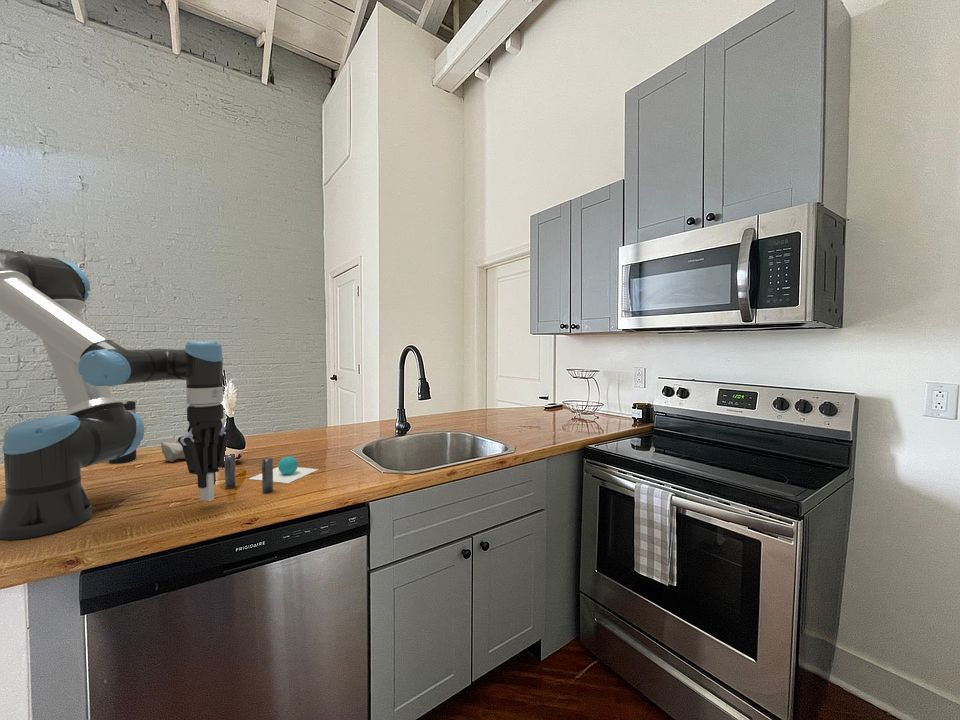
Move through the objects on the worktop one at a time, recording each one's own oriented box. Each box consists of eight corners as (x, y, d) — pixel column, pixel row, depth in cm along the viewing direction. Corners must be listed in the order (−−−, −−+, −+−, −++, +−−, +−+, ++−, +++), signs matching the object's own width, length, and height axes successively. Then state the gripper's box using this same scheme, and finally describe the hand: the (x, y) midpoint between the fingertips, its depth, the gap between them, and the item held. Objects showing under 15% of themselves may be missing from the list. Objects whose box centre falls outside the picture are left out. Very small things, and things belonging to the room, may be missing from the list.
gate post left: (230, 489, 117) (229, 457, 117) (222, 488, 118) (222, 456, 118) (238, 486, 120) (237, 454, 120) (230, 485, 121) (230, 454, 120)
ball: (303, 469, 133) (291, 478, 128) (288, 469, 135) (276, 477, 130) (299, 453, 132) (287, 461, 127) (284, 453, 133) (272, 461, 128)
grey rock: (157, 434, 146) (207, 430, 157) (156, 459, 146) (206, 454, 157) (164, 439, 139) (216, 435, 150) (163, 466, 139) (215, 460, 150)
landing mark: (287, 483, 122) (287, 483, 122) (248, 479, 126) (248, 478, 126) (318, 469, 136) (318, 469, 136) (281, 466, 139) (281, 465, 139)
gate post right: (268, 493, 114) (267, 460, 114) (260, 492, 115) (259, 459, 114) (275, 490, 117) (274, 458, 116) (267, 489, 117) (266, 457, 117)
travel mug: (120, 464, 140) (118, 404, 139) (101, 463, 142) (100, 403, 141) (143, 458, 148) (141, 401, 147) (125, 457, 149) (123, 400, 148)
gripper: (193, 409, 96) (195, 511, 97) (239, 401, 109) (240, 491, 110) (167, 407, 98) (169, 507, 99) (216, 400, 111) (217, 489, 112)
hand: (207, 499), depth 105 cm, fingers closed
